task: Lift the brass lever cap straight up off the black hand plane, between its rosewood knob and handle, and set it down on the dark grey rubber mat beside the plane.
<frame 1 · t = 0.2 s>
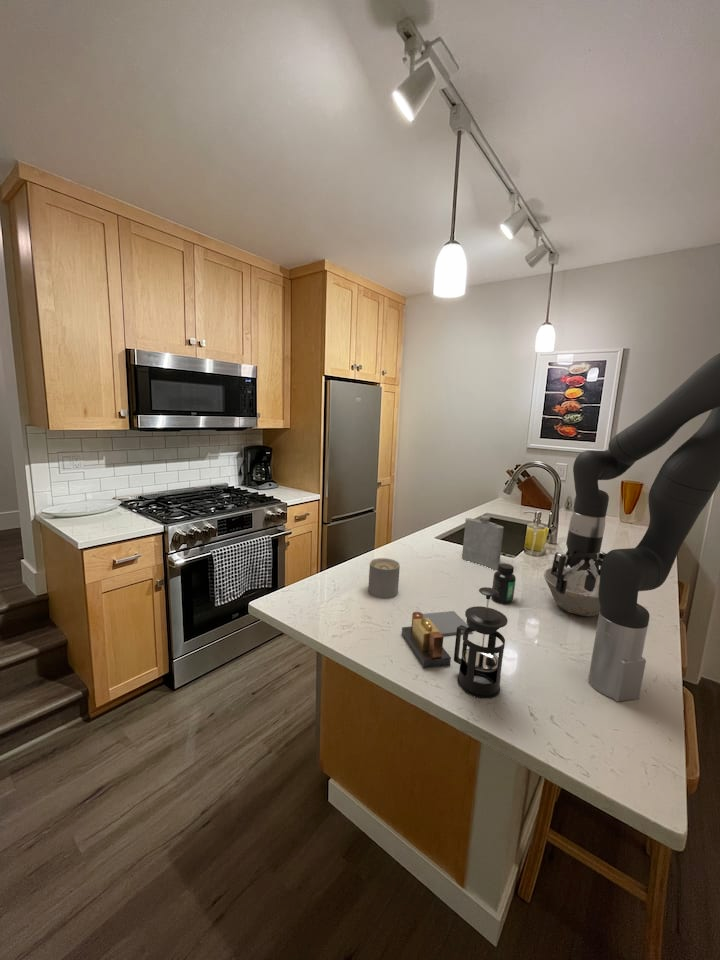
hand: (574, 591, 103), 17 cm above the countertop, tool pointing down, fingers open, 8 cm apart
coffee mug: (386, 590, 138), on the countertop
french press: (476, 684, 93), on the countertop
notched spreader: (480, 564, 166), on the countertop
ceramic bowl: (577, 610, 131), on the countertop
lever cap: (425, 641, 105), point 2 cm above the countertop, touching hand plane
supplement bottle: (501, 600, 135), on the countertop
rubber mat: (445, 624, 118), on the countertop
hand plane: (424, 648, 105), on the countertop
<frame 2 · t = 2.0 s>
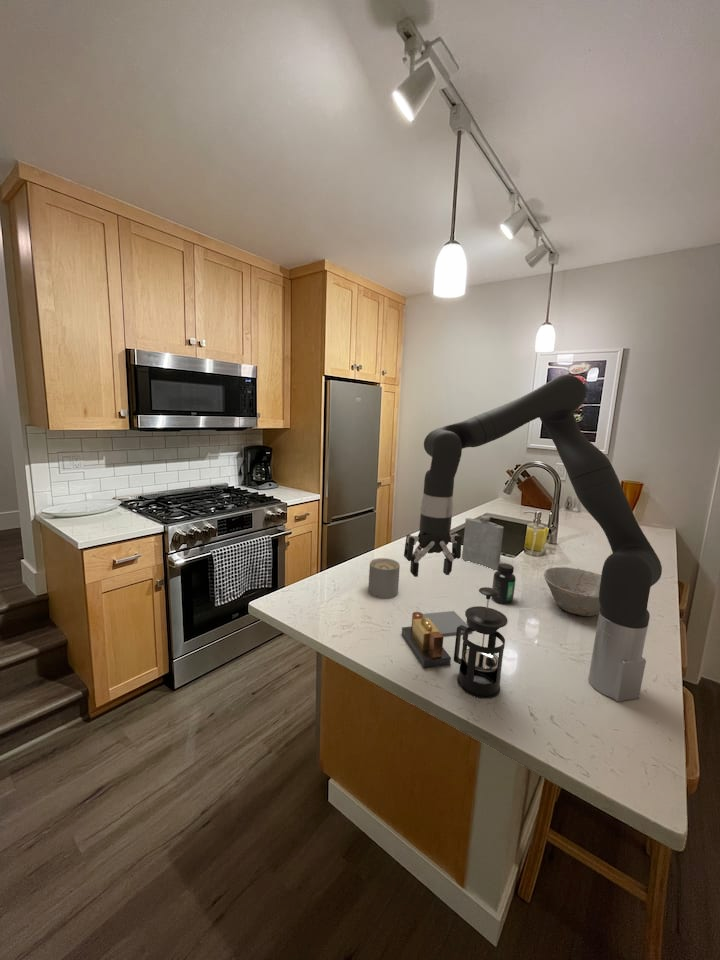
hand: (430, 574, 102), 20 cm above the countertop, tool pointing down, fingers open, 8 cm apart
nothing on the countertop moved.
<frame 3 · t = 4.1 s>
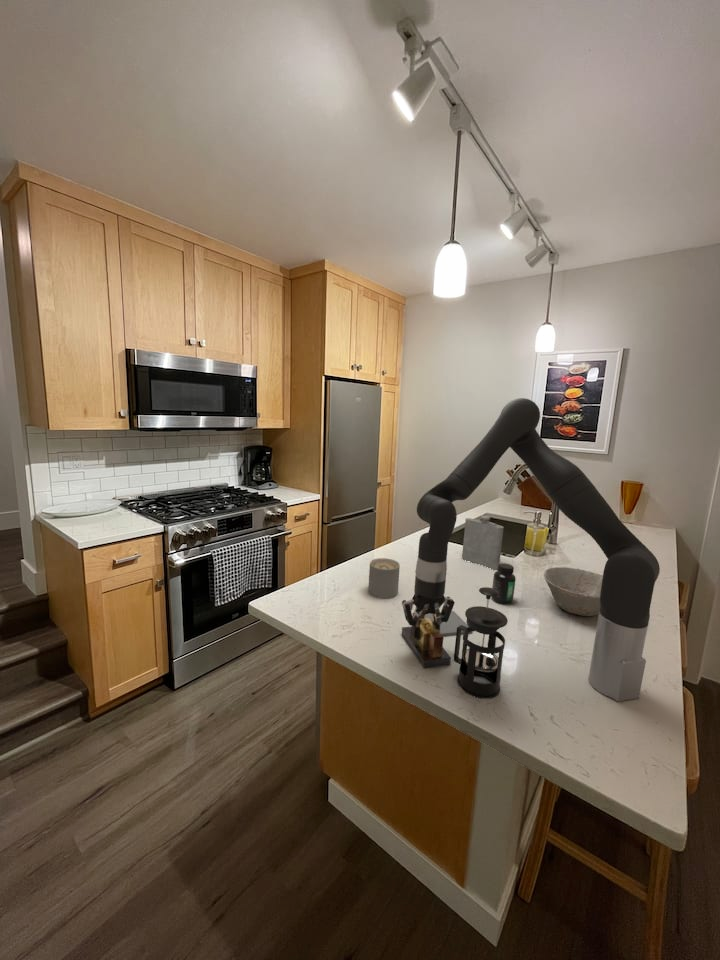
hand: (425, 636, 105), 3 cm above the countertop, tool pointing down, fingers closed on lever cap, 4 cm apart
lever cap: (425, 641, 105), point 2 cm above the countertop, touching gripper, hand plane
everything else where it was.
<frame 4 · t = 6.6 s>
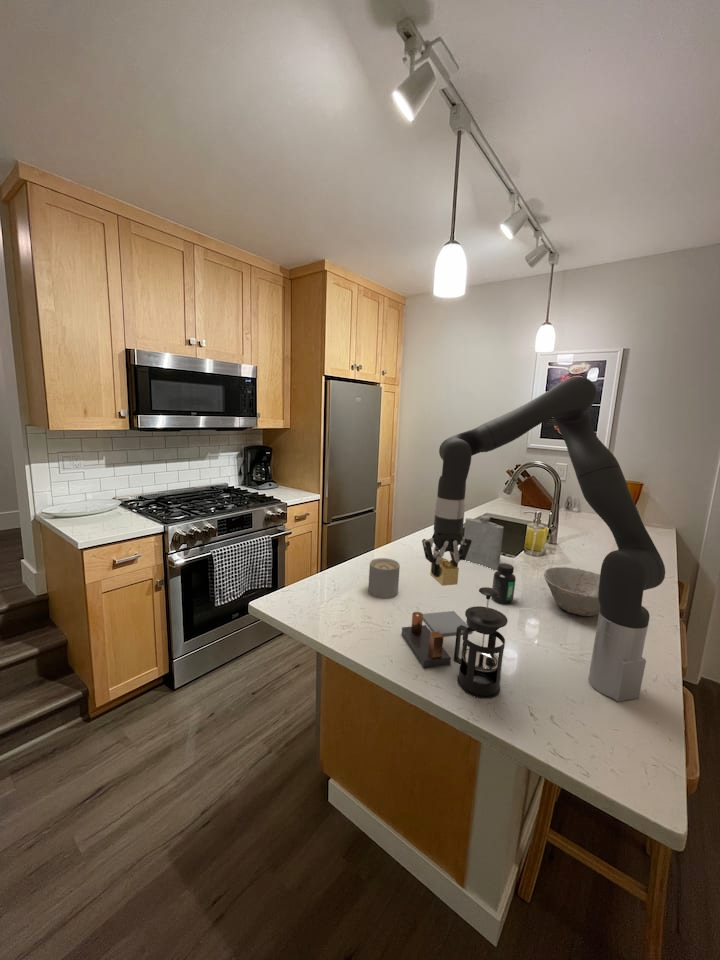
hand: (444, 575, 110), 17 cm above the countertop, tool pointing down, fingers closed on lever cap, 4 cm apart
lever cap: (443, 579, 110), point 16 cm above the countertop, touching gripper
everything else where it was.
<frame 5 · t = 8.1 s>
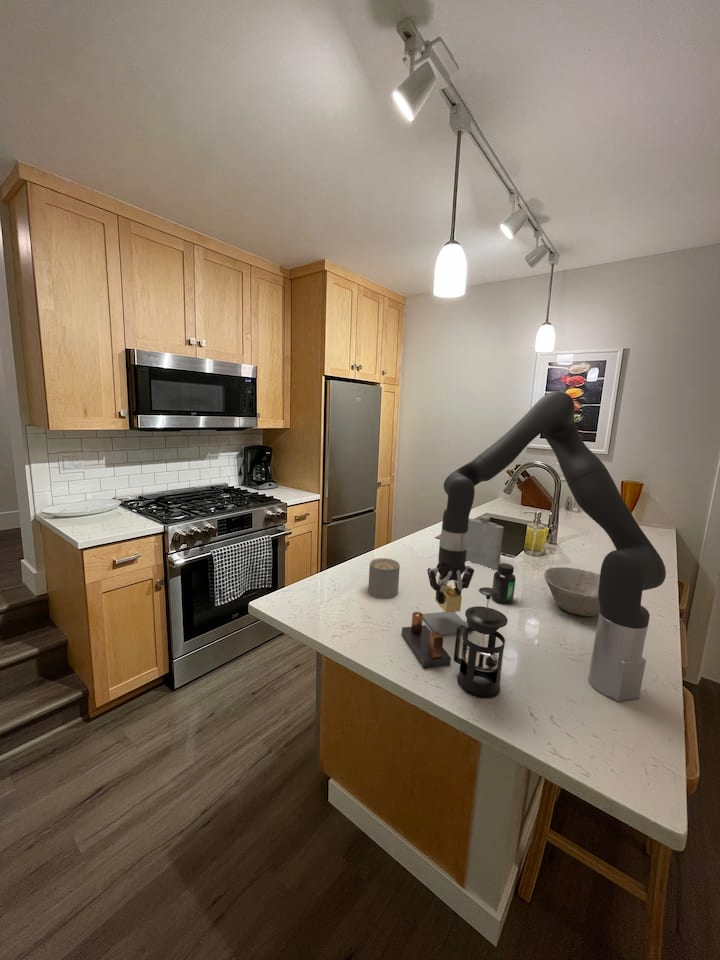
hand: (448, 601, 116), 7 cm above the countertop, tool pointing down, fingers closed on lever cap, 4 cm apart
lever cap: (447, 605, 117), point 6 cm above the countertop, touching gripper
everything else where it was.
when the fingers open (4 cm above the countertop, at t = 9.2 s): lever cap drops 1 cm, resting on rubber mat.
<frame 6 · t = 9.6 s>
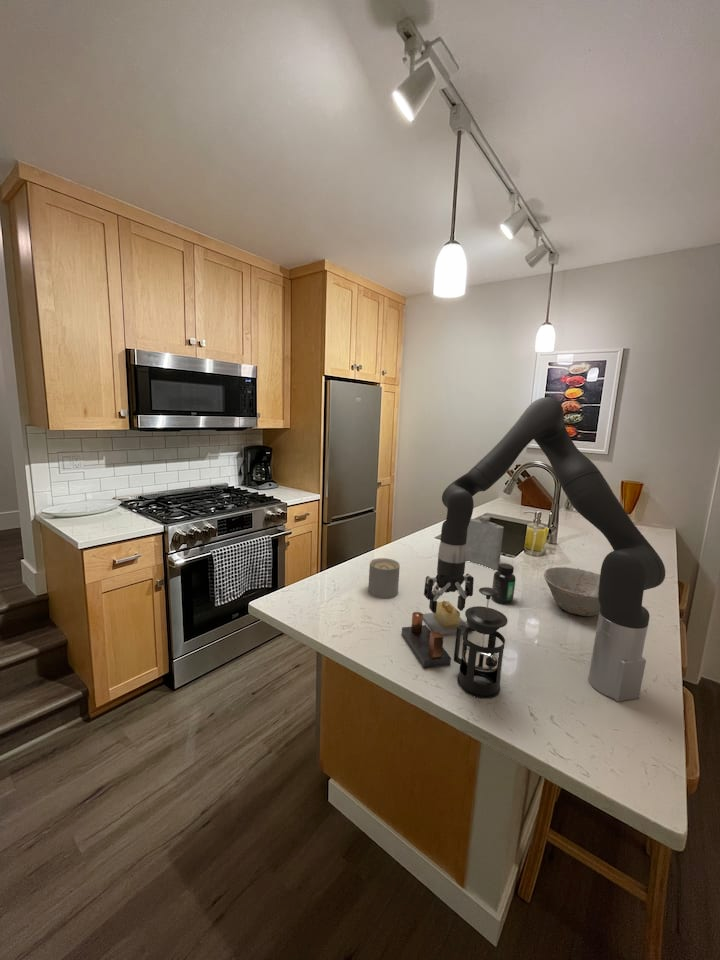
hand: (446, 610, 117), 4 cm above the countertop, tool pointing down, fingers open, 8 cm apart
lever cap: (445, 621, 118), point 1 cm above the countertop, touching rubber mat
everything else where it was.
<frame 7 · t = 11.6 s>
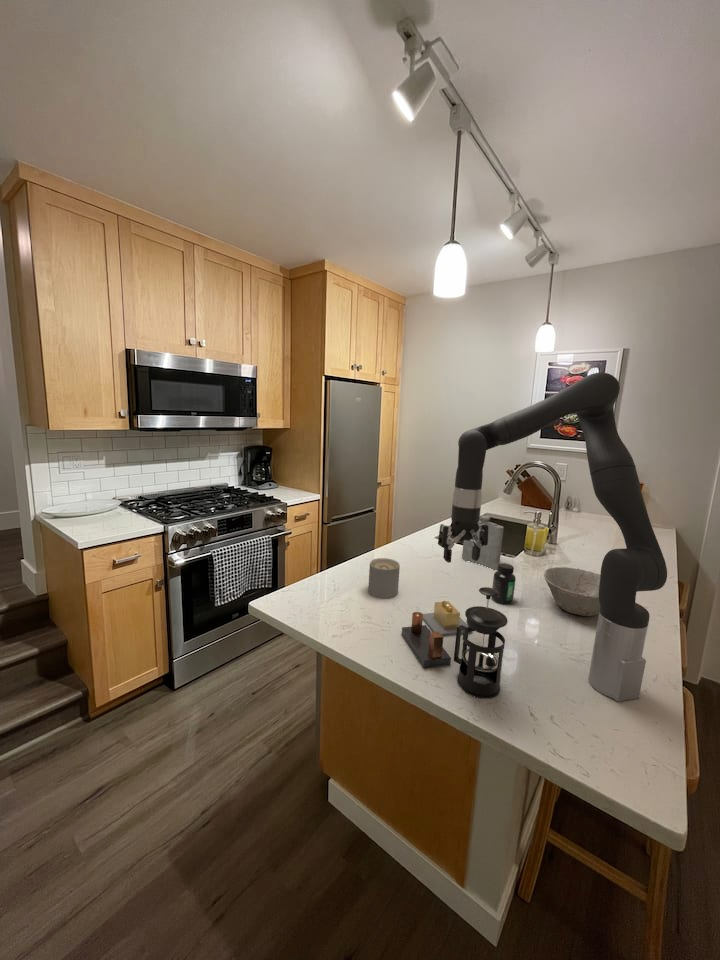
hand: (461, 560, 113), 20 cm above the countertop, tool pointing down, fingers open, 8 cm apart
nothing on the countertop moved.
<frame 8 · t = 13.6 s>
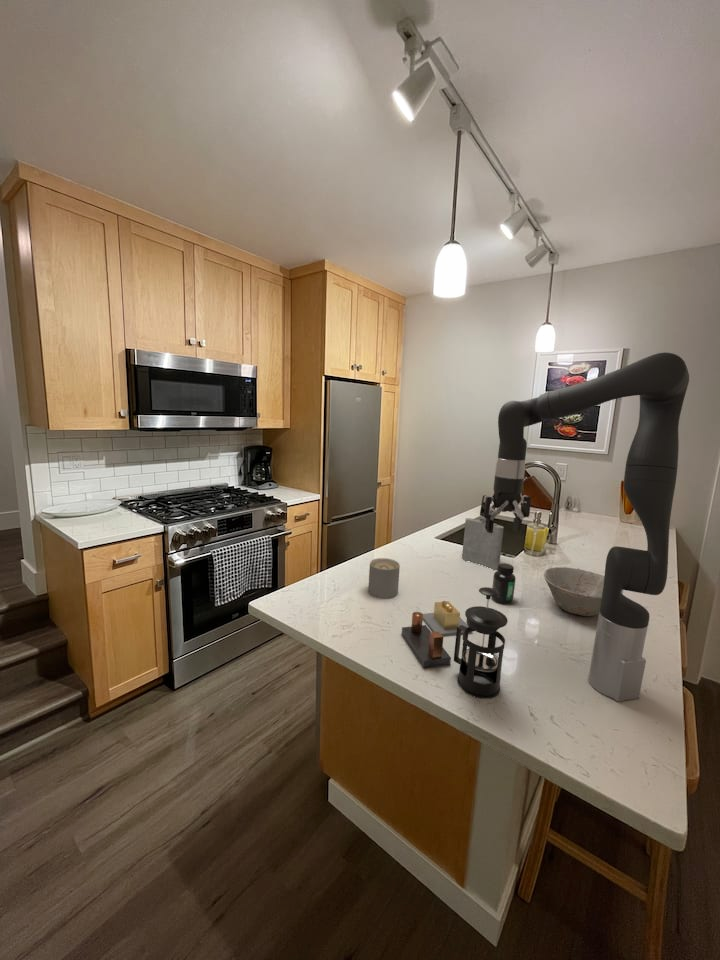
hand: (502, 531, 114), 28 cm above the countertop, tool pointing down, fingers open, 8 cm apart
nothing on the countertop moved.
at the end: lever cap inside the target area on the rubber mat (0.0 cm from its centre), point 0.8 cm above the rubber mat's base; lever cap touching rubber mat; lever cap tilted 0° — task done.
